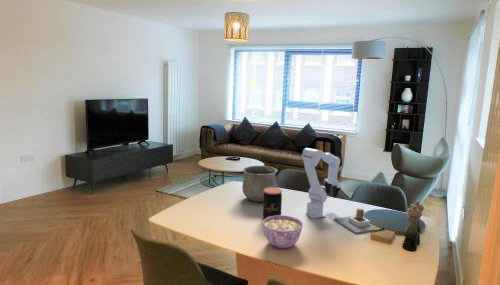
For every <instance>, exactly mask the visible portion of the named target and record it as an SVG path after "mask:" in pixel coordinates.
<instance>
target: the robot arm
mask: <svg viewBox="0 0 500 285" xmlns="http://www.w3.org/2000/svg"><path fill="white" fill-rule="evenodd" d="M301 158H302V161H303V165H304V170H305V173H306V177H307V178H308V179H307V180H308V183H309V186H310V188H309V189H308V198H309V199H310V201H309V202H307V204H306V213H305V214H306V216H308V217H310V218H311V219H316V218H317V219H319V218H325V217H326V215H325V214H324V213H323V212H324V203H325V202H326V201H327V199H328V194H329V195H330V193H331V189H332V198H337V197H338V194H339V191H340V190H341V189H342V187H341V184H340V183H339V180H338V172H339V167H340V164H341V158H340V157H339V156H335V154H332V153H331V152H324V151H323V150H320V149H315V148H309V147H305V148H303V151H302V153H301ZM321 159H322V161H323V162H324V163H327V165H328V171H327V172H328V173H327V178H324V179H323V181H324V182H323V184H322V185H323V186H324V189H323V187H321V184H320V181H319V179H318V175H317V171H316V167H317V166H318V165H319V163H320V160H321Z"/></svg>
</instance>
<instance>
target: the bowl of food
mask: <svg viewBox="0 0 500 285" xmlns="http://www.w3.org/2000/svg"><path fill="white" fill-rule="evenodd" d="M303 225H304V224H303V222H302V221H301V220H300V219H298V218H297V217H293V216H289V215H283V214H281V215H276V216H270V217H267V218H265V219H263V220H262V226H263V227H262V228H263V231H264V235H265V239H266V241H267V242H268V243H269V244H270V245H272V246H274V247H275V248H276V247H277V248H278V249H287V248H290V247H293V246H294V245H296V243H297V242H299V239H300V236H301V233H302V229H303V227H304V226H303Z"/></svg>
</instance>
